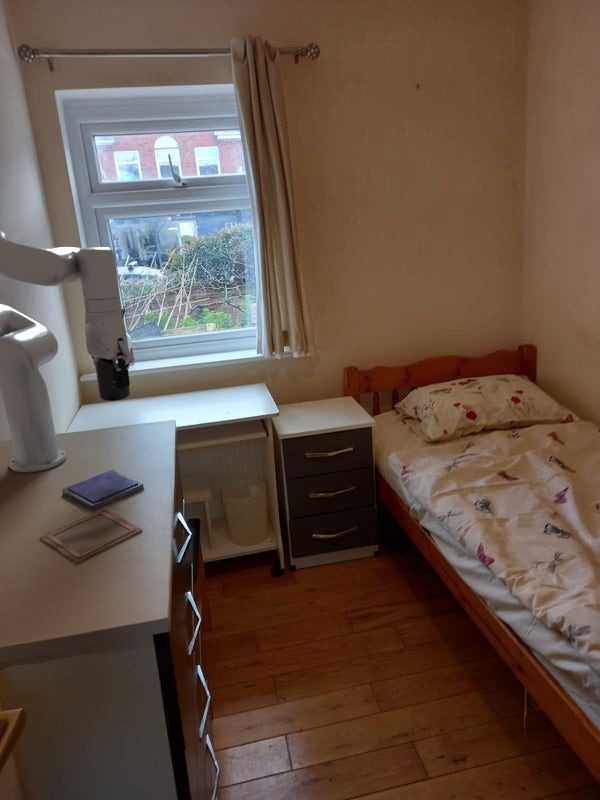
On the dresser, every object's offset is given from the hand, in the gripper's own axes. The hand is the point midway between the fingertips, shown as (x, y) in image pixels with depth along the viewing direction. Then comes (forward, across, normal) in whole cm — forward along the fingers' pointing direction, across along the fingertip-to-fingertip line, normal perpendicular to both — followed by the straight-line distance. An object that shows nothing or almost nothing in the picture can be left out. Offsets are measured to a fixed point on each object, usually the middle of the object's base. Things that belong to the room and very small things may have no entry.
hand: (113, 383), depth 129 cm
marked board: (+20, +24, -23) cm, 38 cm away
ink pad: (+20, +10, -12) cm, 25 cm away
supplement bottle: (+4, 0, 0) cm, 4 cm away
